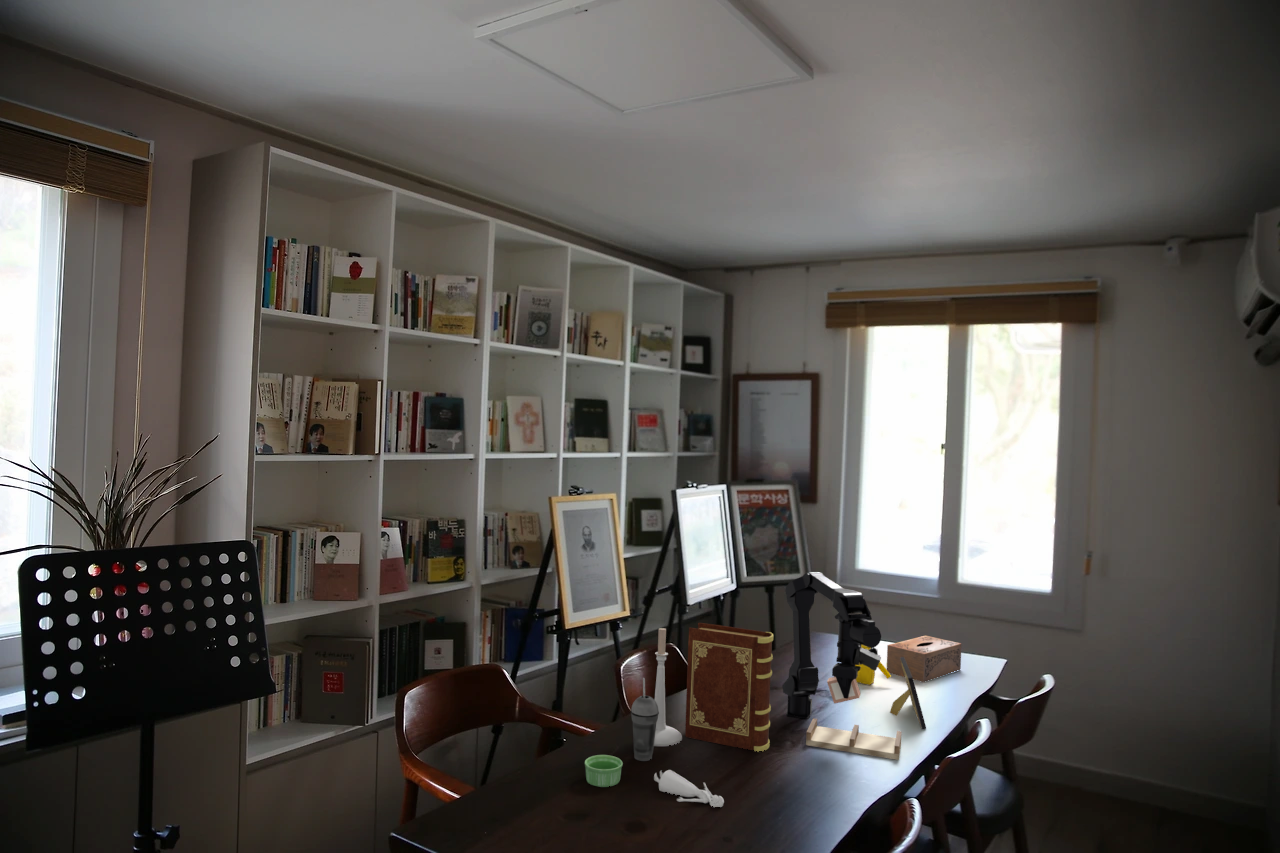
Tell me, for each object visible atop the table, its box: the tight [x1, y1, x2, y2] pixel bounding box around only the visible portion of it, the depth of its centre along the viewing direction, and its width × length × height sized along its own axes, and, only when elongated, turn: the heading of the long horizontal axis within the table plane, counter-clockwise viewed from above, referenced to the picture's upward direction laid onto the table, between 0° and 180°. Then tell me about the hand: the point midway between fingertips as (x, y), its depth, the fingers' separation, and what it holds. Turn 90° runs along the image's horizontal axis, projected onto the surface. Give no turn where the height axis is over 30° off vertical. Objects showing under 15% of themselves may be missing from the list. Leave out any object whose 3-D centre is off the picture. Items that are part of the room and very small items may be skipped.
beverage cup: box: [630, 677, 659, 762], centre depth 214 cm, size 7×7×20 cm
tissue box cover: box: [886, 635, 962, 683], centre depth 303 cm, size 26×14×10 cm, turn 131°
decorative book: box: [684, 622, 774, 753], centre depth 228 cm, size 22×8×30 cm, turn 65°
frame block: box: [826, 676, 861, 704], centre depth 229 cm, size 7×4×6 cm, turn 70°
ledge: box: [805, 718, 903, 761], centre depth 228 cm, size 24×12×4 cm, turn 70°
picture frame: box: [889, 657, 927, 731], centre depth 254 cm, size 23×9×15 cm, turn 168°
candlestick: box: [654, 627, 683, 747], centre depth 228 cm, size 13×13×30 cm
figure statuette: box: [856, 644, 892, 686], centre depth 286 cm, size 18×8×22 cm, turn 57°
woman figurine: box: [653, 769, 725, 808], centre depth 192 cm, size 12×4×18 cm
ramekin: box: [584, 754, 624, 788], centre depth 199 cm, size 9×9×4 cm
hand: (846, 695), depth 229 cm, fingers closed on frame block, 4 cm apart
